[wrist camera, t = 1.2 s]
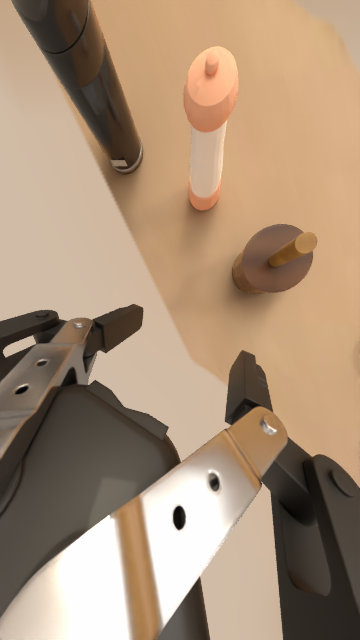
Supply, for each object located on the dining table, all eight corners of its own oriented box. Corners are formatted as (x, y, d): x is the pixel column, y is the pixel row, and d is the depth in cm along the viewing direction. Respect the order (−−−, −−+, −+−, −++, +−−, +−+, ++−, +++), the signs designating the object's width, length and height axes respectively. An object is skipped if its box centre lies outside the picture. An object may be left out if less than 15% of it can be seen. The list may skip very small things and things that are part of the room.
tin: (229, 252, 34) (239, 236, 26) (277, 241, 33) (305, 220, 24) (235, 297, 36) (247, 295, 27) (282, 289, 34) (310, 284, 26)
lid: (236, 236, 27) (253, 207, 19) (305, 219, 25) (357, 179, 17) (244, 298, 28) (263, 295, 20) (310, 286, 26) (360, 278, 18)
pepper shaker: (184, 204, 34) (169, 83, 16) (197, 174, 33) (198, 3, 14) (210, 215, 34) (226, 105, 15) (224, 185, 33) (260, 24, 14)
